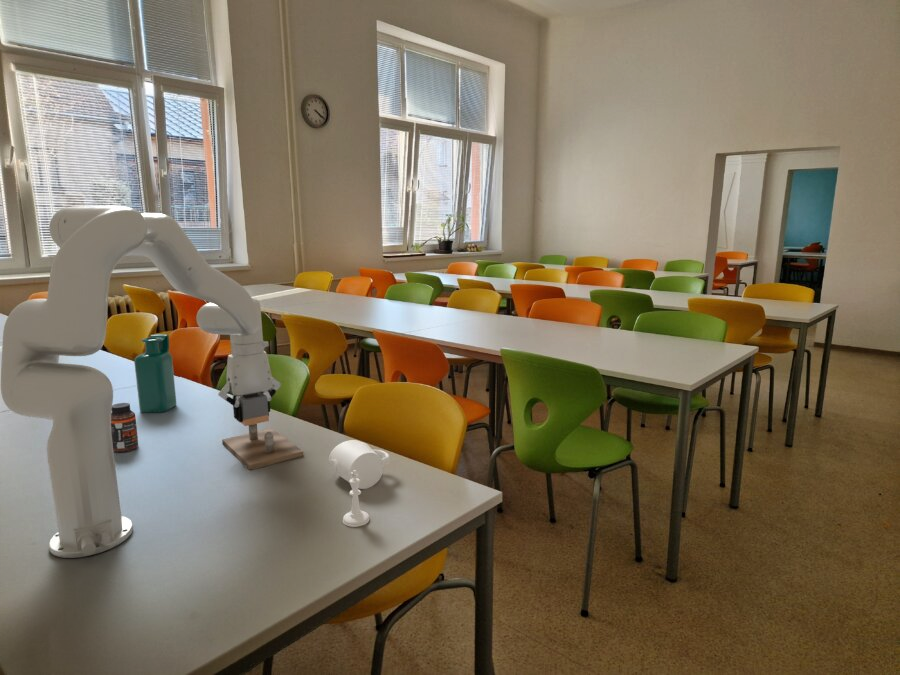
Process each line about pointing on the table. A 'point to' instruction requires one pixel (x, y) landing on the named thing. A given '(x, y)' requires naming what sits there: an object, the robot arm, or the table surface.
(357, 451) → the mug
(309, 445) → the table surface
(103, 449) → the robot arm
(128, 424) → the supplement bottle
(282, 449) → the pin board
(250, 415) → the sleeve
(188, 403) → the table surface
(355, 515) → the chess piece
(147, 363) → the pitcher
